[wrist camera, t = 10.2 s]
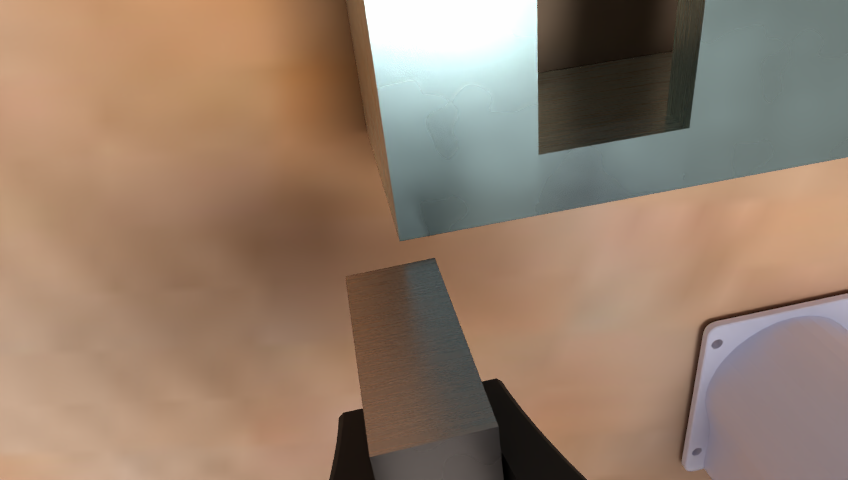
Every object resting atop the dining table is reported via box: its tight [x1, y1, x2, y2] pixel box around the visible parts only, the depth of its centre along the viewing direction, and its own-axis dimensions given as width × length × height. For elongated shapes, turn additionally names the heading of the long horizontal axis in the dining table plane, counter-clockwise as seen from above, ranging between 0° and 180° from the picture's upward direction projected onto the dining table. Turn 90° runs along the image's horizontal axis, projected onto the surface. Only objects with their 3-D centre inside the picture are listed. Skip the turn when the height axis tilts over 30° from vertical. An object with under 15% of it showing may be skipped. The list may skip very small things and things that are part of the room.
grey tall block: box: [346, 258, 504, 480], centre depth 13 cm, size 5×2×5 cm, turn 8°
